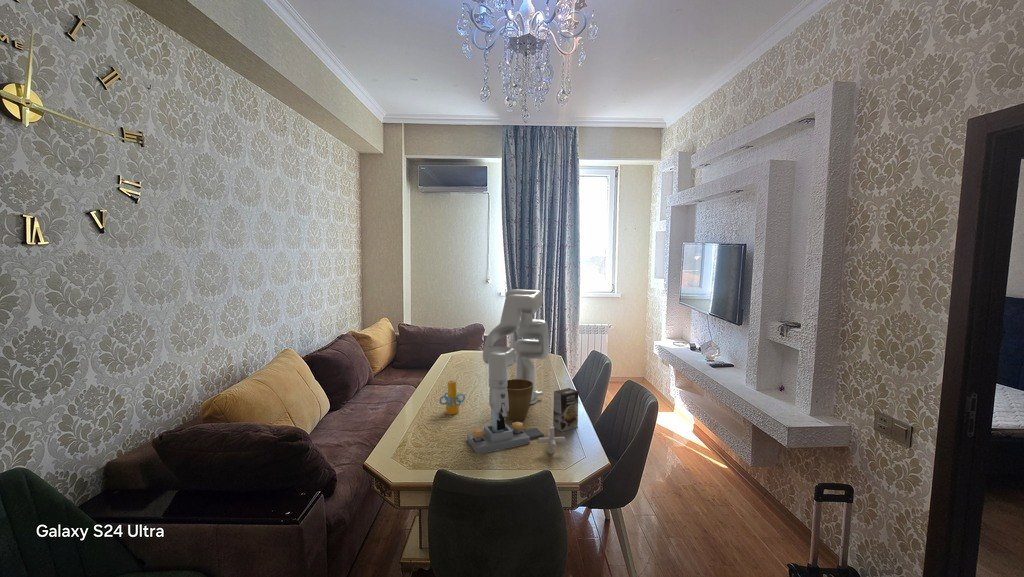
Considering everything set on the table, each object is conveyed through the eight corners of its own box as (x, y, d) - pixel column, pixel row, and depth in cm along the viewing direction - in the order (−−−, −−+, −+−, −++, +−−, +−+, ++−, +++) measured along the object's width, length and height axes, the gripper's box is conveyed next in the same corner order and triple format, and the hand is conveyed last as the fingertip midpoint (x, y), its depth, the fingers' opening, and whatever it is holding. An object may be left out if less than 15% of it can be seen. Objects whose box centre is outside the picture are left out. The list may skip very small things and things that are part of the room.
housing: (516, 430, 186) (516, 418, 185) (529, 443, 174) (530, 430, 174) (467, 440, 177) (466, 427, 176) (477, 454, 165) (477, 440, 165)
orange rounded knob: (481, 438, 175) (481, 428, 174) (485, 443, 171) (485, 432, 170) (471, 440, 173) (470, 430, 173) (474, 445, 169) (474, 434, 169)
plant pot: (529, 410, 208) (529, 377, 207) (536, 423, 194) (536, 388, 192) (498, 412, 206) (498, 379, 204) (503, 425, 191) (503, 390, 189)
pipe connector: (536, 447, 171) (536, 422, 170) (561, 446, 172) (562, 421, 171) (540, 459, 161) (540, 433, 160) (567, 458, 162) (567, 432, 161)
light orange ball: (519, 431, 182) (520, 421, 181) (524, 435, 178) (524, 425, 177) (510, 433, 180) (510, 422, 179) (514, 437, 176) (514, 427, 175)
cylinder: (459, 418, 199) (458, 386, 197) (437, 416, 201) (436, 384, 199) (467, 408, 211) (466, 378, 209) (446, 406, 213) (446, 376, 211)
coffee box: (561, 432, 184) (562, 395, 183) (552, 426, 190) (553, 390, 188) (578, 427, 189) (579, 391, 187) (569, 422, 195) (569, 387, 193)
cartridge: (501, 432, 179) (501, 401, 177) (506, 437, 174) (506, 405, 173) (490, 434, 176) (489, 403, 175) (494, 439, 172) (494, 407, 171)
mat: (536, 430, 186) (536, 427, 186) (544, 436, 180) (544, 434, 180) (521, 432, 184) (521, 430, 183) (528, 439, 177) (528, 437, 177)
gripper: (515, 387, 167) (515, 433, 169) (498, 375, 182) (498, 417, 184) (497, 390, 164) (497, 437, 166) (481, 377, 179) (481, 420, 181)
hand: (498, 426), depth 175 cm, fingers closed on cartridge, 5 cm apart
